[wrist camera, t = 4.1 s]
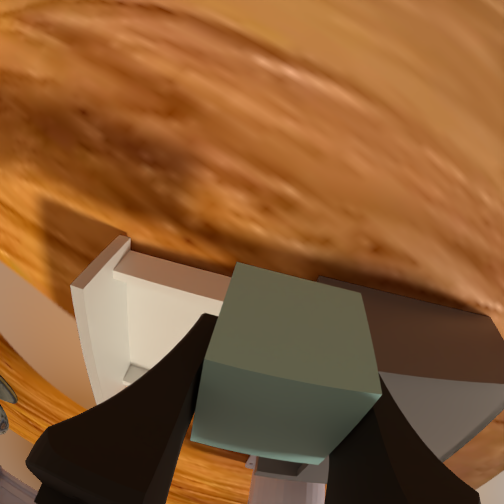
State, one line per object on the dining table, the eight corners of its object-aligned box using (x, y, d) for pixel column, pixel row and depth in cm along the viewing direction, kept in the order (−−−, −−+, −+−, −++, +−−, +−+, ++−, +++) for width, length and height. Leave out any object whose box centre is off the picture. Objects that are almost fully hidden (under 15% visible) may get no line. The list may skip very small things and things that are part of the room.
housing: (403, 424, 26) (412, 484, 20) (263, 406, 26) (253, 474, 20) (490, 317, 19) (526, 384, 13) (319, 275, 19) (324, 362, 13)
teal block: (318, 373, 13) (318, 464, 9) (217, 350, 13) (190, 440, 9) (360, 293, 11) (382, 394, 7) (236, 261, 11) (204, 358, 7)
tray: (315, 414, 25) (313, 470, 20) (126, 367, 25) (100, 416, 21) (384, 301, 19) (403, 368, 14) (119, 234, 19) (70, 284, 14)
